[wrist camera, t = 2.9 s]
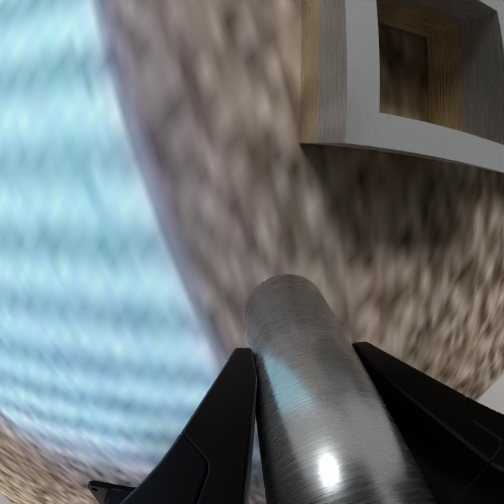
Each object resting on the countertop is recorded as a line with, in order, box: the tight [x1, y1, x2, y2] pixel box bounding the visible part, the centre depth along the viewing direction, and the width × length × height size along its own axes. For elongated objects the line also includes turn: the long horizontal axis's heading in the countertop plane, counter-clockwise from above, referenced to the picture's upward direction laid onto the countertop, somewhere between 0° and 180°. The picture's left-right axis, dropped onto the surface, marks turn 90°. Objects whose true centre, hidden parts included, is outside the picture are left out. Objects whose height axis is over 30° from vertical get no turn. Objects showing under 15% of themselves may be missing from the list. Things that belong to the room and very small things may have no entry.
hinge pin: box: [245, 274, 437, 504], centre depth 6 cm, size 3×3×8 cm
